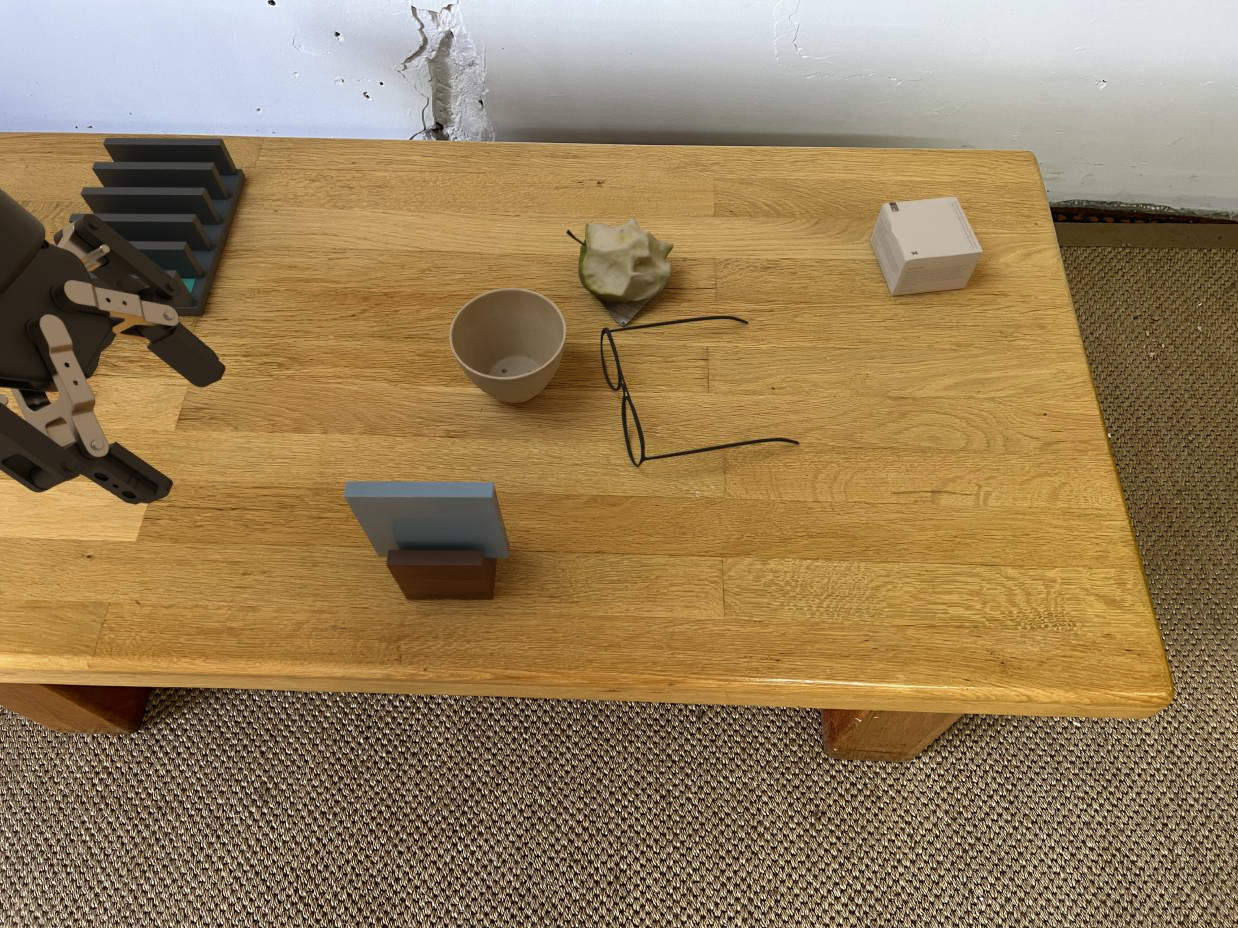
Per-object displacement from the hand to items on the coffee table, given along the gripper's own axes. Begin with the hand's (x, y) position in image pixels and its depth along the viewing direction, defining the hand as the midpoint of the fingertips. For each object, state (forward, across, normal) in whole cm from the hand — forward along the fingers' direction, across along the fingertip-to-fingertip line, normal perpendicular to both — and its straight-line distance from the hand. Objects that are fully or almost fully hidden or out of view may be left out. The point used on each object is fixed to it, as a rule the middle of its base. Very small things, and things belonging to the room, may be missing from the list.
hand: (188, 434), depth 48 cm
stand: (+26, -7, -2) cm, 27 cm away
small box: (+41, -41, +37) cm, 69 cm away
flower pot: (+25, -26, +2) cm, 36 cm away
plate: (+22, -6, -1) cm, 23 cm away
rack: (+4, -41, -30) cm, 51 cm away
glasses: (+33, -24, +16) cm, 44 cm away
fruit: (+28, -38, +11) cm, 48 cm away
